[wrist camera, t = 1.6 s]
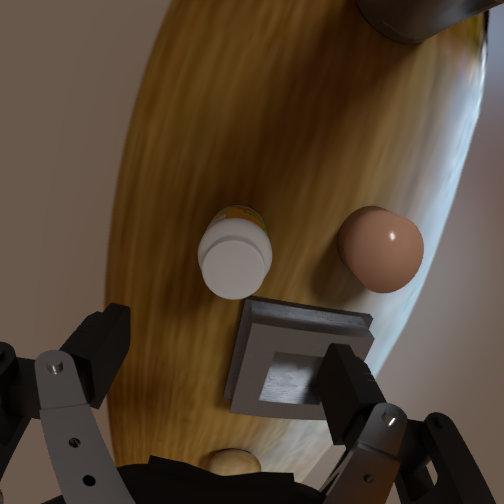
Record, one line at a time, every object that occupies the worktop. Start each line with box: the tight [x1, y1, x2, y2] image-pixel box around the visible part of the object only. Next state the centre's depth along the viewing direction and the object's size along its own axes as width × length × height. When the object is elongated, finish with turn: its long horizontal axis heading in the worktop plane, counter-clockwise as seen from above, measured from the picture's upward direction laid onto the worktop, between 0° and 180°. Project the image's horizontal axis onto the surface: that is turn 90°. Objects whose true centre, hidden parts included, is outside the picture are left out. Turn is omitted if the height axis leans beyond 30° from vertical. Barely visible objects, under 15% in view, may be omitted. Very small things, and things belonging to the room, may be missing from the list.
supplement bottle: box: [198, 205, 272, 300], centre depth 23 cm, size 5×5×10 cm
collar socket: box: [223, 295, 375, 420], centre depth 30 cm, size 14×14×4 cm
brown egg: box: [338, 206, 424, 293], centre depth 26 cm, size 7×7×5 cm
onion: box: [208, 449, 261, 476], centre depth 35 cm, size 8×8×7 cm
